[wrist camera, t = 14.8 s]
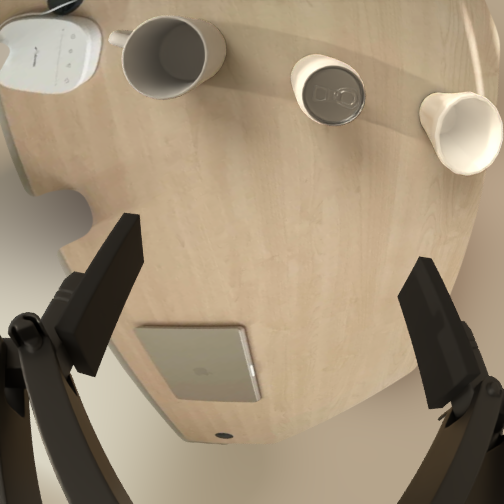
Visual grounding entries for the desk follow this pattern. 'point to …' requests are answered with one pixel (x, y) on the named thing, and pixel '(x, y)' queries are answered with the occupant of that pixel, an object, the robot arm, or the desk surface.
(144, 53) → the mug
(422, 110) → the cup
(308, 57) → the can
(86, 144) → the desk surface
